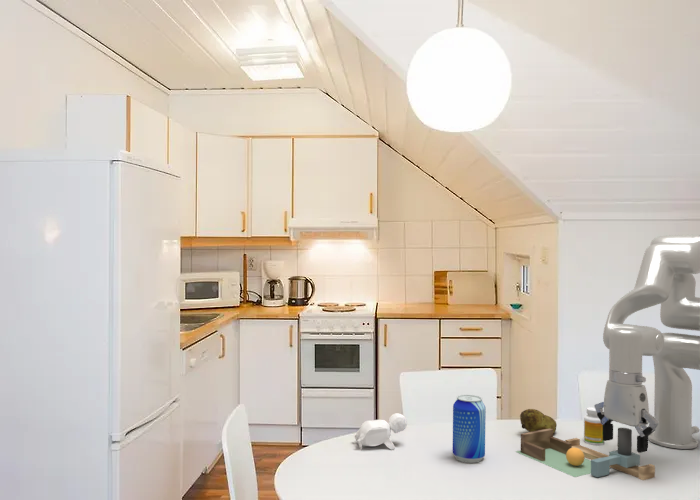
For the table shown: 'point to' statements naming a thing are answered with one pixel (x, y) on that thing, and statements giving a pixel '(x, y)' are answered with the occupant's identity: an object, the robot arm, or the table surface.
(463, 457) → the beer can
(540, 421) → the potato
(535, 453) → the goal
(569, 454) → the ball
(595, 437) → the supplement bottle
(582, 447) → the rail
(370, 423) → the white turtle figurine
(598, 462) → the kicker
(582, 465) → the felt mat
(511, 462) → the table surface
